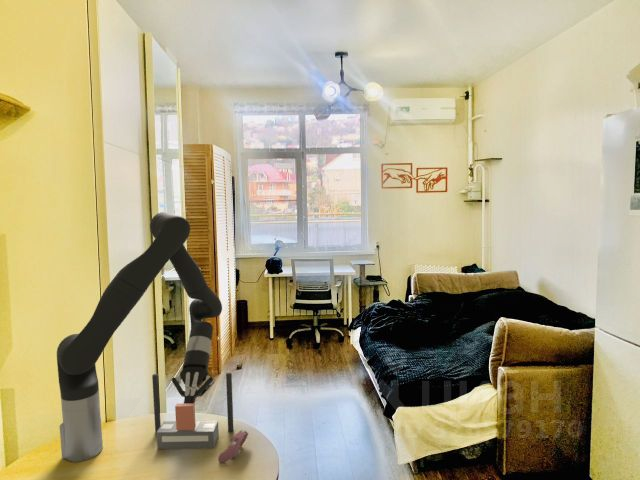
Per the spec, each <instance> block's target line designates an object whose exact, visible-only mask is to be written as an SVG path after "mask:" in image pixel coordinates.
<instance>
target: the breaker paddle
mask: <svg viewBox="0 0 640 480" xmlns="http://www.w3.org/2000/svg"><path fill="white" fill-rule="evenodd" d="M195 405H196V403H184V402H183V403H176V405H175V406H174V407H175V409H174V410H175V411H174V412H175V413H174V414H175V421H176V430H194V429H195V427H196V424H195V421H196V408H195V407H196V406H195Z"/></svg>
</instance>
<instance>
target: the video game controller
mask: <svg viewBox="0 0 640 480" xmlns="http://www.w3.org/2000/svg"><path fill="white" fill-rule="evenodd" d="M248 435H249V432H248V431H246V430H243V429H241V430H239V431H238V432H236V433H235V434H234V435H233V436H232V437H231V439H230V443H229V445H228V447H227V448H226V449H225V450H224V451H222V452H221V453H220V454H219V456H218V458H217V459H218V462H219V463H227V462H229V461H230V460H232V459H235V458H236V456H237V455H239V454H241V450H242V449H243V445H244V443H245V442H246V440H247V439H248Z"/></svg>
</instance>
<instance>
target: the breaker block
mask: <svg viewBox="0 0 640 480" xmlns="http://www.w3.org/2000/svg"><path fill="white" fill-rule="evenodd" d="M161 423H162V424H161V426H160V428H159V429H158V431H157V432H156V433H155V434H156V446H157V447H156V449H157V450H169V449H170V450H174V449H175V450H184V449H187V450H189V449H195V450H196V449H215V447H216V444H217V441H218V440H219V437H220V435H219V420H195V424H196V427H195V429H194V430H176V420H172V421H171V420H167V421H165V420H164V421H162V422H161ZM217 439H218V440H217Z"/></svg>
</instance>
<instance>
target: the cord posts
mask: <svg viewBox="0 0 640 480" xmlns="http://www.w3.org/2000/svg"><path fill="white" fill-rule="evenodd" d="M151 377H152V380H151V381H152V393H153V394H152V396H153V414H154V429H155V430H154V431H155V432H154V433H155V434H156V432H157V431H158V429H159V428H160V426H161V425H162V424H161V423H162V422H161V408H160V407H161V406H160V390H159V389H160V386H159V374H158V373H154V374H152V375H151ZM225 379H226V380H225V381H226V384H225V385H226V404H227V407H226V409H227V431H228V433H233V432H234V429H235V428H234V410H233V409H234V407H233V402H234V401H233V380H232V379H233V376H232V372H227V373H226V375H225Z"/></svg>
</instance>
